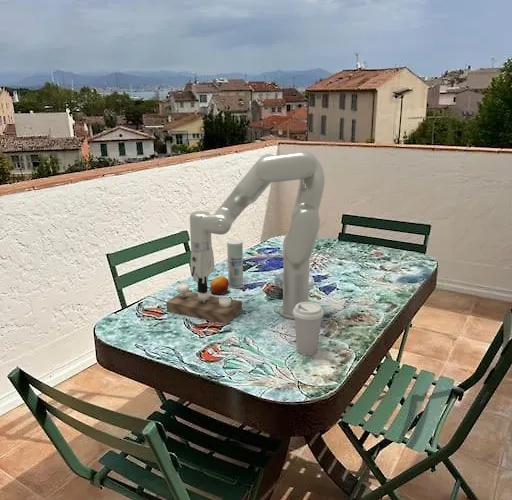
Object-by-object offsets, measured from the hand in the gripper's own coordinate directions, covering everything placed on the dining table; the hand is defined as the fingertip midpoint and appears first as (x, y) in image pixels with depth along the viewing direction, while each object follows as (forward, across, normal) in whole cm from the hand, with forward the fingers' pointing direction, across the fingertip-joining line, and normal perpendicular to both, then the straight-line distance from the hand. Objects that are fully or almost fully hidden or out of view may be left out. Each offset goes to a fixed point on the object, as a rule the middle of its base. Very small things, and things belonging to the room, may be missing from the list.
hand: (202, 292), depth 171 cm
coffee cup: (+8, -12, -45) cm, 48 cm away
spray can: (+8, +28, +1) cm, 29 cm away
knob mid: (+5, 0, 0) cm, 5 cm away
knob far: (+4, 0, +9) cm, 9 cm away
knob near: (+6, 0, -9) cm, 11 cm away
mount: (+8, 0, 0) cm, 8 cm away
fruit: (+8, +19, +4) cm, 21 cm away
